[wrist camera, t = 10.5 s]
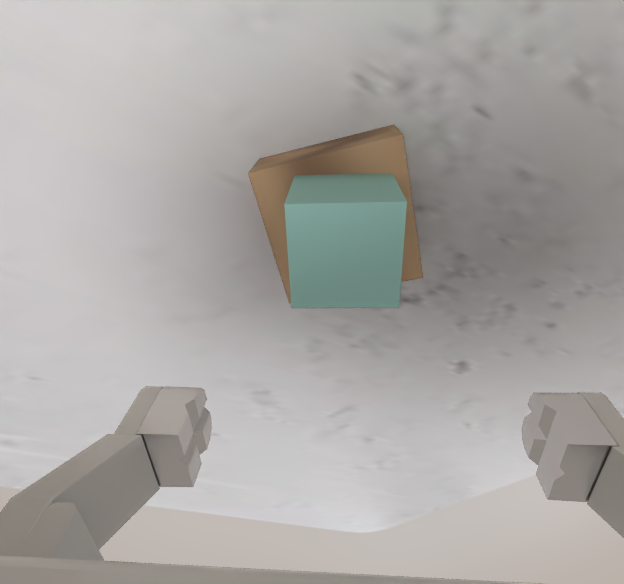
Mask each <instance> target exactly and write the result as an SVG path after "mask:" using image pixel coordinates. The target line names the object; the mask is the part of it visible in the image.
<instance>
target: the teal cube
mask: <svg viewBox="0 0 624 584" xmlns="http://www.w3.org/2000/svg"><path fill="white" fill-rule="evenodd" d="M284 207H285V221H286V236H287V250H288V265H289V279H290V294H291V308H399V302H400V289H401V275H402V262H403V248H404V235H405V222H406V208H407V201H406V199H405V197H404V195H403V193H402V191H401V189H400V187H399V185H398V183H397V181H396V179H395V177H394V175H393V173H376V174H335V175H295V176H294V179H293V182H292V184H291V187H290V190H289V193H288V195H287V198H286V201H285V204H284Z"/></svg>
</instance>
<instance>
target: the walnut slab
mask: <svg viewBox="0 0 624 584" xmlns="http://www.w3.org/2000/svg"><path fill="white" fill-rule="evenodd" d="M376 173H393V175H394V177H395V179H396V181H397V183H398V185H399V187H400V189H401V191H402V193H403V195H404V197H405V199H406V201H407V208H406V222H405V235H404V248H403V262H402V275H401V282H403V281H408V280H413V279H418V278H423V273H422V266H421V259H420V252H419V245H418V238H417V231H416V223H415V216H414V209H413V202H412V195H411V188H410V181H409V174H408V167H407V160H406V153H405V146H404V138H403V134H402V133H401V132H400V131H399V130H398V129H397V128H396V127H395V125H390V126H386V127H383V128H379V129H375V130H371V131H367V132H363V133H359V134H355V135H351V136H347V137H343V138H339V139H335V140H331V141H328V142H324V143H320V144H316V145H312V146H308V147H304V148H300V149H296V150H292V151H288V152H284V153H280V154H276V155H272V156H269V157H265V158H261V159H259V160H258V161H257V163H256V164H255V165H254V166H253V168H252V169H251V170H250V172H249V173H248V175H249V178H250V181H251V184H252V187H253V190H254V193H255V197H256V200H257V203H258V206H259V209H260V212H261V215H262V219H263V222H264V225H265V228H266V231H267V234H268V237H269V241H270V244H271V247H272V250H273V253H274V256H275V259H276V263H277V266H278V269H279V272H280V275H281V278H282V281H283V285H284V288H285V291H286V294H287V297H288V300H289V303H291V294H290V279H289V265H288V250H287V236H286V221H285V207H284V204H285V201H286V198H287V195H288V193H289V190H290V187H291V184H292V182H293V179H294V176H295V175H335V174H376Z"/></svg>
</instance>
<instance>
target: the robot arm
mask: <svg viewBox="0 0 624 584" xmlns="http://www.w3.org/2000/svg"><path fill="white" fill-rule="evenodd" d="M206 400H207V398H206V394H205V390H204V389H202V388H191V387H166V386H165V387H155V386H146V387H144V388H143V389H142V390H141V391H140V392H139V394H138V396H137V397H136V399H135V400H134V402H133V404H132V405H131V407H130V409H129V410H128V412H127V413H126V415H125V417H124V418H123V420H122V421H121V423H120V425H119V426H118V428H117V430H116V431H115V433H114V434H107V435H106V436H104V437H103V438H101V439H100V440H98V441H97V442H95V443H94V444H92V445H91V446H89V447H88V448H86V449H85V450H83V451H82V452H80V453H79V454H77V455H76V456H74V457H73V458H71V459H70V460H68V461H67V462H65V463H64V464H62V465H61V466H59V467H58V468H56V469H55V470H53V471H51V472H50V473H48V474H47V475H45V476H44V477H42V478H41V479H39V480H38V481H36V482H35V483H33V484H32V485H30V486H29V487H27V488H26V489H24V490H23V491H21V492H20V493H18V494H17V495H15V496H14V497H12V498H11V499H10V500H9V502H8V503H7V504H6V505H5V507H4V508H3V509H2V511H1V512H0V584H541V583H521V582H502V581H481V580H463V579H462V580H461V579H444V578H424V577H404V576H384V575H365V574H346V573H327V572H309V571H290V570H270V569H252V568H251V569H250V568H232V567H212V566H194V565H175V564H155V563H136V562H118V561H117V562H116V561H104V559H103V557H102V555H101V553H100V551H99V549H100V548H101V547H102V546H103V545H104V544H105V543H106V542H107V541H108V540H109V539H110V538H111V537H112V536H113V535H114V534H115V533H116V532H117V531H118V530H119V529H120V528H121V527H122V526H123V525H124V524H125V523H126V522H127V521H128V520H129V519H130V518H131V517H132V516H133V515H134V514H135V513H136V512H137V511H138V510H139V509H140V508H141V507H142V506H143V505H144V504H145V503H146V502H147V501H148V500H149V499H150V498H151V497H152V496H153V495H154V494H155V493H156V492H157V491H158V490H159V489H160V488H159V487H193V486H194V483H195V481H196V478H197V475H198V472H199V470H200V467H201V464H202V463H201V459H200V454H201V453H203V452H204V451H205V450H206V449H207V447H208V444H209V441H210V436H211V429H212V423H211V415H210V412H209V411H208V410H207V409H206V408H205V407H204V405H205V403H206ZM528 406H529V408H530V410H531V413H530V414H529V415H528V416H526V417H525V418H524V421H523V425H522V440H523V444H524V448H525V451H526V453H527V455H528V458H530V459H531V460H532V461H533V462H535V463H536V464H537V465H538V469H537V472H536V475H537V478H538V480H539V482H540V484H541V486H542V488H543V491H544V493H545V495H546V497H547V499H548V500H562V501H578V502H588V503H587V504H588V505H589V506H590V507H591V508H592V509H593V510H594V511H595V512H596V513H597V514H598V515H600V516H601V517H602V518H603V519H604V520H605V521H606V522H607V523H608V524H609V525H610V526H611V527H612V528H613V529H615V530H616V531H617V532H618V533H619V534H620V535H621V536H622V537H623V538H624V419H623V417H622V416H621V415H620V414H619V412H618V411H617V410H616V408H615V407H614V406H613V404H612V403H611V402H610V401H609V399H608V398H607V397H606V396H605V395H604V394H602V393H533V394H532V395H531V396H530V399H529V403H528Z"/></svg>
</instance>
